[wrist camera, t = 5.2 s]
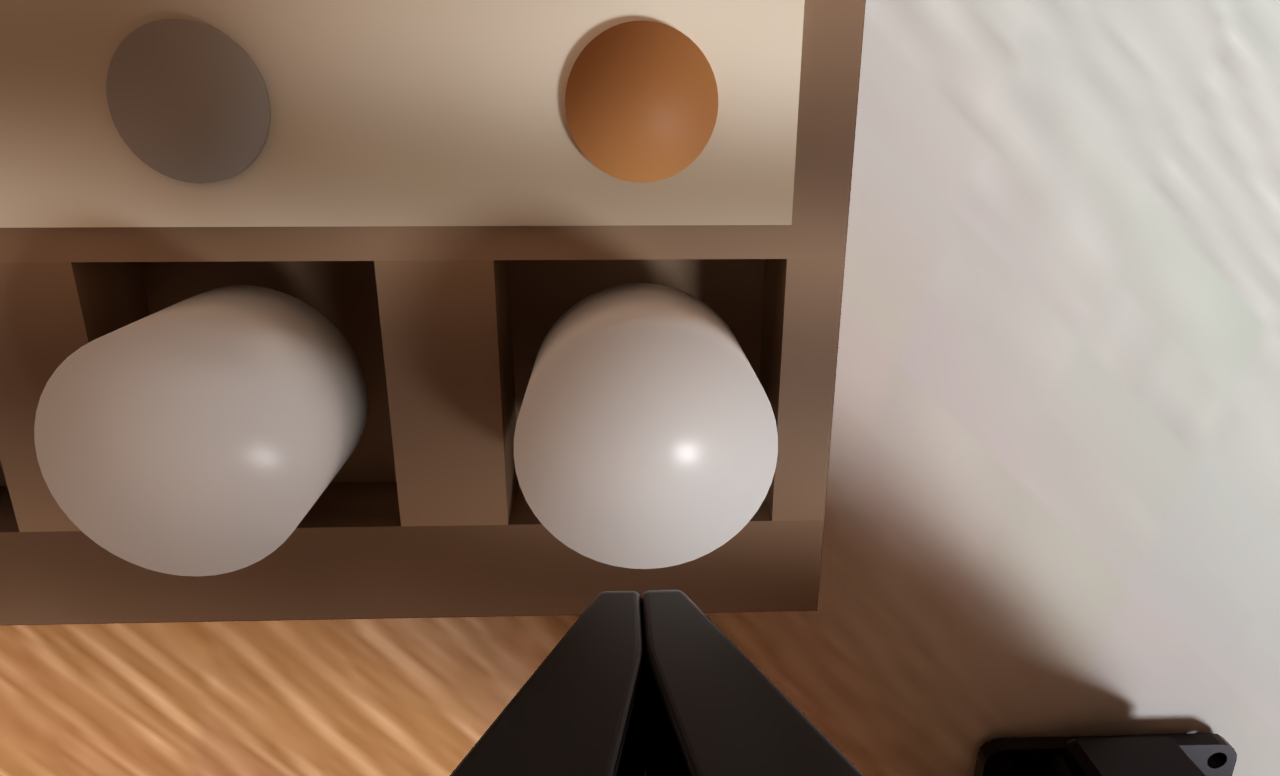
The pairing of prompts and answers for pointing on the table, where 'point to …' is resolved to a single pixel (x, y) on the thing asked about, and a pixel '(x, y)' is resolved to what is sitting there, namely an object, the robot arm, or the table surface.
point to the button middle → (202, 429)
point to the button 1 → (644, 429)
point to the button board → (423, 262)
